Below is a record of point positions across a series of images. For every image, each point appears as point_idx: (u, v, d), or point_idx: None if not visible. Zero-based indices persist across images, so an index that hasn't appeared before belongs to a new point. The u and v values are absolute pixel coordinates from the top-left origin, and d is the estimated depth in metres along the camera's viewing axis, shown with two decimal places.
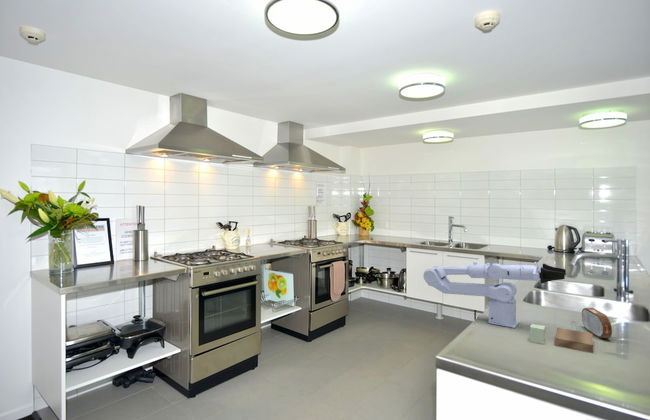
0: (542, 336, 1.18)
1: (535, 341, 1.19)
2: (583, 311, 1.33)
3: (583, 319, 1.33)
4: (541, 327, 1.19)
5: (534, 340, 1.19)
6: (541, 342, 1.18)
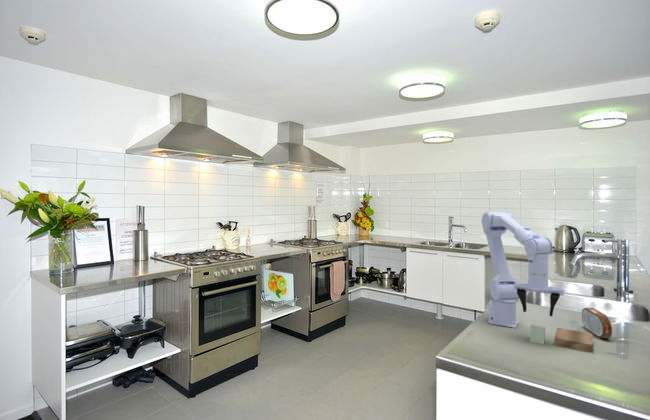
0: (542, 336, 1.18)
1: (535, 341, 1.19)
2: (583, 311, 1.33)
3: (583, 319, 1.33)
4: (541, 327, 1.19)
5: (534, 340, 1.19)
6: (541, 342, 1.18)
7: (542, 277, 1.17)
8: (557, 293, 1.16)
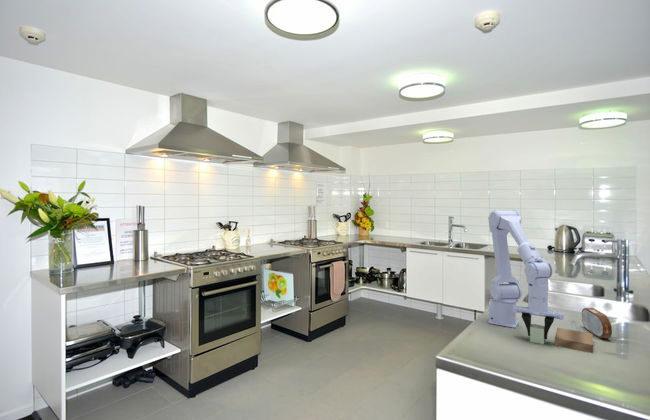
0: (542, 336, 1.18)
1: (535, 341, 1.19)
2: (583, 311, 1.33)
3: (583, 319, 1.33)
4: (541, 327, 1.19)
5: (534, 340, 1.19)
6: (541, 342, 1.18)
7: (542, 301, 1.17)
8: (557, 317, 1.17)
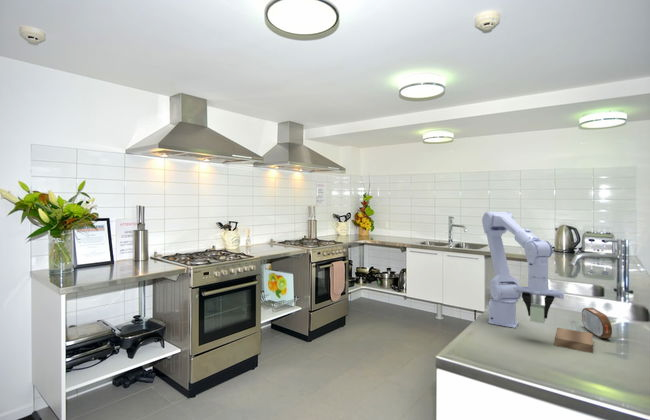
0: (542, 315, 1.18)
1: (535, 320, 1.19)
2: (583, 311, 1.33)
3: (583, 319, 1.33)
4: (541, 306, 1.19)
5: (534, 319, 1.19)
6: (541, 321, 1.18)
7: (542, 280, 1.17)
8: (557, 296, 1.16)
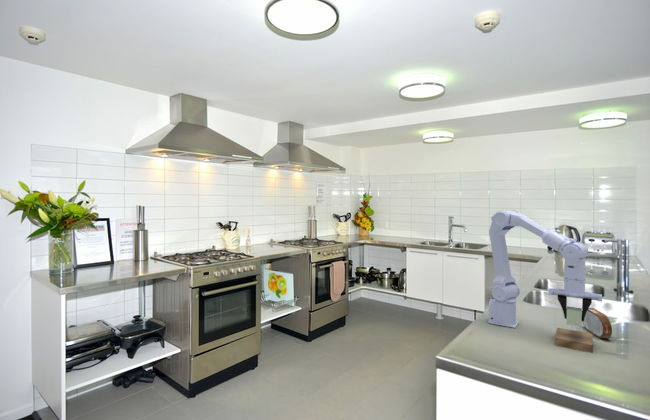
0: (579, 318, 1.16)
1: (572, 323, 1.17)
2: None
3: None
4: (578, 309, 1.17)
5: (571, 322, 1.17)
6: (578, 324, 1.16)
7: (579, 282, 1.15)
8: (595, 299, 1.15)
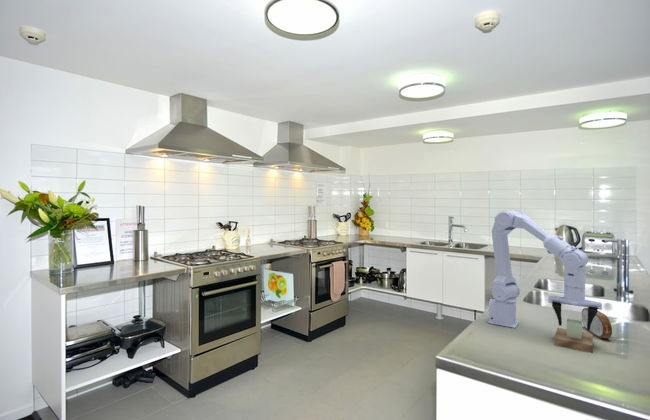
0: (580, 331, 1.16)
1: (572, 336, 1.17)
2: (583, 311, 1.33)
3: (583, 319, 1.33)
4: (578, 321, 1.17)
5: (571, 335, 1.17)
6: (579, 337, 1.16)
7: (579, 290, 1.15)
8: (595, 307, 1.15)
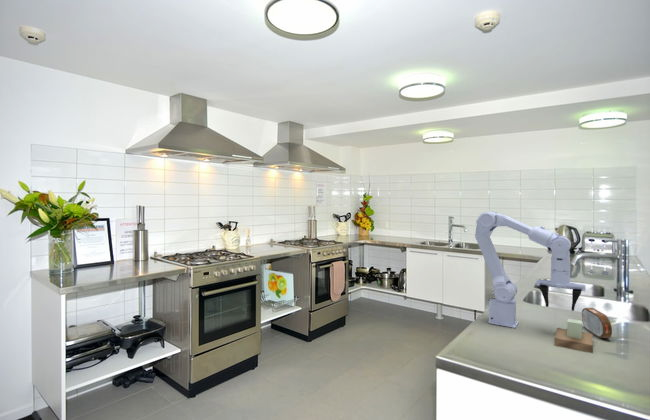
0: (580, 331, 1.16)
1: (572, 336, 1.17)
2: (583, 311, 1.33)
3: (583, 319, 1.33)
4: (579, 322, 1.17)
5: (571, 335, 1.17)
6: (579, 337, 1.16)
7: (564, 273, 1.24)
8: (579, 289, 1.23)
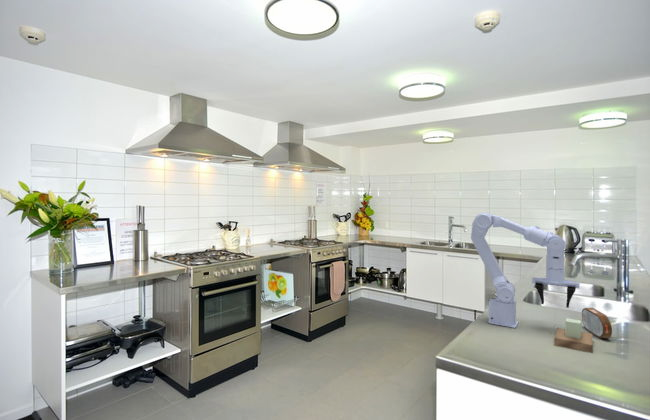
0: (578, 330, 1.16)
1: (571, 335, 1.17)
2: (583, 311, 1.33)
3: (583, 319, 1.33)
4: (577, 321, 1.18)
5: (570, 334, 1.17)
6: (577, 336, 1.16)
7: (559, 271, 1.27)
8: (573, 286, 1.26)
